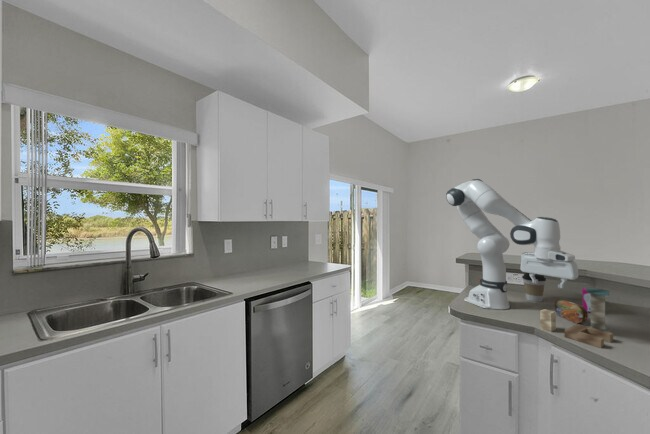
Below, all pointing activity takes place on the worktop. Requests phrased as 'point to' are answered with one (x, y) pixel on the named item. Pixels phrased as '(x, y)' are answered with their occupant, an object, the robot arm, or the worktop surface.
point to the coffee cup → (534, 287)
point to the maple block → (548, 320)
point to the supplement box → (586, 300)
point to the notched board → (588, 335)
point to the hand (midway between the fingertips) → (547, 285)
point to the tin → (571, 311)
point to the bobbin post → (597, 307)
